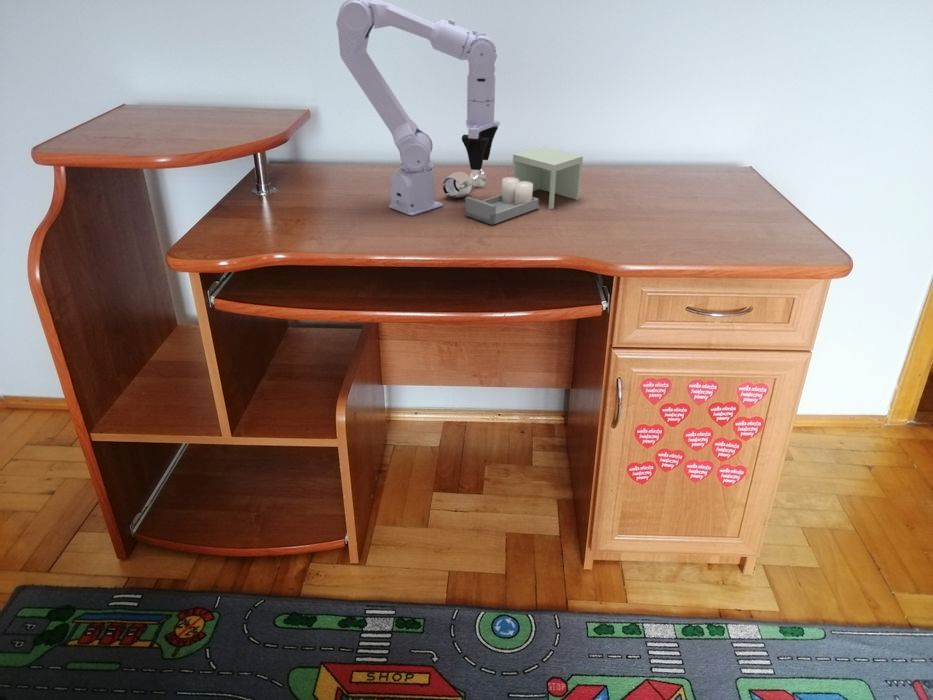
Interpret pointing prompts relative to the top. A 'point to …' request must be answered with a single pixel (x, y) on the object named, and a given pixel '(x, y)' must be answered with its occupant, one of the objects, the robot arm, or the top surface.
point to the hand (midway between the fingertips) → (479, 164)
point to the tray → (503, 202)
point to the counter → (549, 171)
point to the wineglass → (463, 183)
